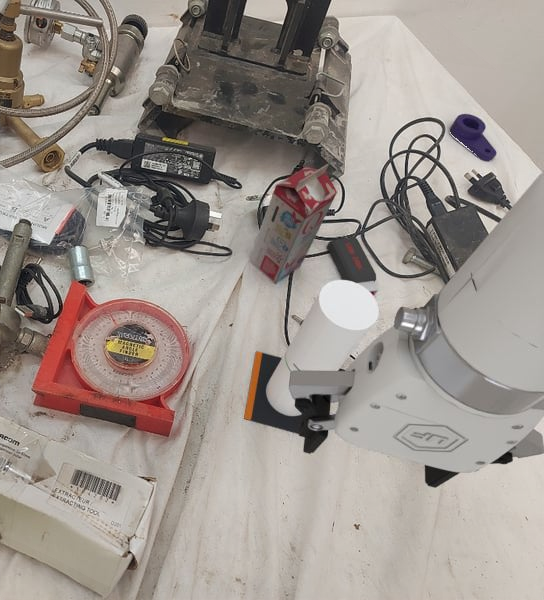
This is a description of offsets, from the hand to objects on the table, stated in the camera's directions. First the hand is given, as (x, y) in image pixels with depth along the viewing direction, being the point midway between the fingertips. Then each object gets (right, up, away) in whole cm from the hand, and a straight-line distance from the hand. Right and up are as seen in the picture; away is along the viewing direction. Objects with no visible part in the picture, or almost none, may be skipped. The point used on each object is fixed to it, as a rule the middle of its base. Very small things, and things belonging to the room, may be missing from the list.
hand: (368, 452), depth 46 cm
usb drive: (+19, +17, +58) cm, 63 cm away
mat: (+4, -2, +43) cm, 43 cm away
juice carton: (+5, +19, +57) cm, 61 cm away
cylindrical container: (+4, -2, +43) cm, 43 cm away
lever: (+54, +47, +81) cm, 108 cm away
